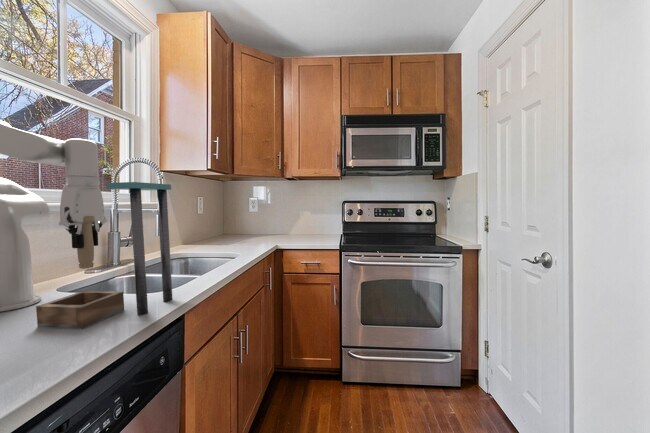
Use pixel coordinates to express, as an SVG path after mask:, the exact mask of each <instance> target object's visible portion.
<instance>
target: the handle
mask: <svg viewBox="0 0 650 433" xmlns="http://www.w3.org/2000/svg"><path fill="white" fill-rule="evenodd" d="M83 222H84V223H82V230H81V234H83V238H84V247H83V248H76V251H77V261H78V267H79V269H82V270H83V269H84V270H85V269H90V268H91V269H92V268H93V267H94V264H95V261H94V260H95V246H94V243H93V234H92V225H93V224H92V223H93V222H95V216H91V217H83Z"/></svg>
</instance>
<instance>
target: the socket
mask: <svg viewBox="0 0 650 433" xmlns="http://www.w3.org/2000/svg"><path fill="white" fill-rule="evenodd" d="M35 308H36V310H35V311H36V323H37V324H36V325H37V328H45V329H67V330H69V329H70V330H71V329H73V330H85V329H86V328H88V327H90V326H93V325H95V324H97V323H99V322H102V321H104V320H105V319H106V320H107V319H108V318H111V317H112V316H115V315H116V314H119V313H121V312H124V311H125V298H124V291H114V290H113V291H108V290H106V291H103V290H82V291H79V292H75V293H73V294H69V295H65V296H63V297H61V298H57V299H53V300H52V301H48V302H45V303H42V304H39V305H36V306H35Z"/></svg>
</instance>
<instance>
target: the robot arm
mask: <svg viewBox="0 0 650 433" xmlns="http://www.w3.org/2000/svg"><path fill="white" fill-rule="evenodd" d="M98 148H99V147H98V144H97V143H96V142H95V141H94V140H90V139H84V138H68V139H66V140H61V139H56V138H53V137H50V136H46V135H40V134H36V133H33V132H29V131H25V130H22V129H18V128H16V127H14V126H13V127H12V125H10V123H8V122H6V121H3V120H0V155H4V156H7V157H11V158H14V159H16V160H17V159H18V160H21V161H24V162H29V163H33V164H41V165H47V166H54V167H64V168H65V173H64V174H65V187H63V188H62V191H61V195H60V205H59V218H60V220H59V222H58V225H59V226H60V227H62V228H64V229H65V230H66V231H67V232H68V234H69V235H71V248H72V249H77V248H83V247H84V238H83V234H81V230H82V223H84V222H83V217H91V216H95V222H93V223H92V234H93V243H94V247H96V246H97V247H98V246H99V232H100V231H101V228H102V227H103V225H105V223H106V222H107V221H108V220H107V219H106V217H105V205H104V198H103V195H102V194H103V192H102V190H101V188H100V185H101V181H100V177H99V174H100V172H99V171H100V170H99V149H98ZM50 213H51V210H50V206H49V204H48V203H47V202H46V201H45V200H44V199H43V198H42V197H40V196H39V195H37V194H36V193H34V192H31V191H30V190H28V189H27V188H25V187H23V186H21V185H19V184H17V183H16V182H14V181H12V180H10V179H8V178H4V177H0V312H8V311H12V310H17V309H21V308H26V307H28V306H31V305H34V304H36V303H39V302H41V300H42V296H41V295H39V294H35V291H34V284H33V283H34V282H33V281H34V280H33V270H32V257H31V256H32V255H31V246H30V244H31V243H30V240H29V237H28V235H27V233H26V232H25V230H24V229H23V228H24V227H33V226H34V227H35V226H37V225H38V226H39V225H40V224H44V222H46V221H47V220H48V219H49V217H50V215H51V214H50Z"/></svg>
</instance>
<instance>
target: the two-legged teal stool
mask: <svg viewBox="0 0 650 433" xmlns="http://www.w3.org/2000/svg"><path fill="white" fill-rule="evenodd" d="M106 189H107V190H118V191H119V190H124V191H129V200H130V203H129V204H130V217H131V218H130V219H131V236H132V249H133V251H132V252H133V253H132V254H133V267H134V283H135V298H136V299H135V301H136V302H135V303H136V315H137V316H146V315H147V314H149V305H148V290H147V289H148V287H147V272H146V271H147V270H146V269H147V268H146V257H145V256H146V255H145V254H146V253H145V238H144V237H145V236H144V221H143V205H142V202H143V201H142V191H156V197H157V198H156V199H157V213H158V231H159V247H160V248H159V250H160V252H159V253H160V264H161V266H160V267H161V269H160V270H161V284H162V285H161V287H162V302H163V303H169V302H172V301H173V286H172V285H173V284H172V282H173V281H172V280H173V279H172V264H171V245H170V228H169V208H168V191H169V190H170V191H171V190H172V184H167V183H155V182H153V183H152V182H143V181H141V182H140V181H139V182H138V181H126V182H123V181H122V182H107V183H106Z"/></svg>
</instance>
